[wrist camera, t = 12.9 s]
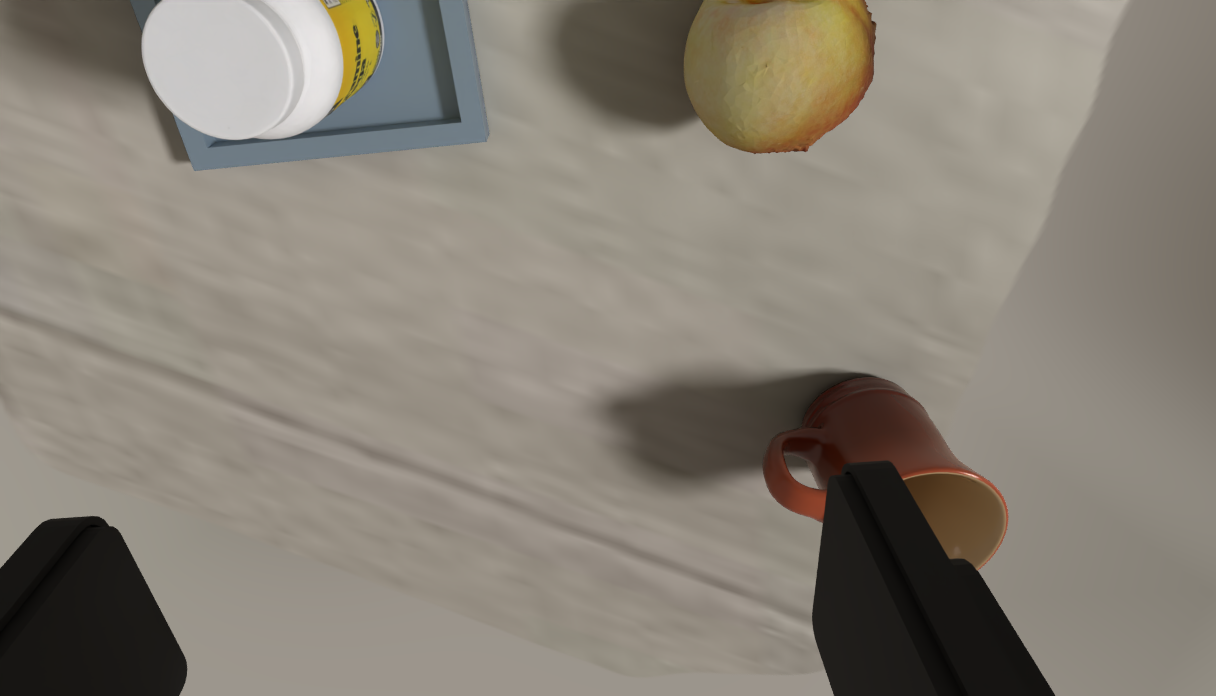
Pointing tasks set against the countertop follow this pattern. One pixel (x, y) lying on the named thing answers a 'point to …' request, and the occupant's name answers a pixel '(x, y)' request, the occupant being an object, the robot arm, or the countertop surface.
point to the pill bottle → (260, 61)
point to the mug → (903, 434)
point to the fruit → (778, 69)
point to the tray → (379, 95)
